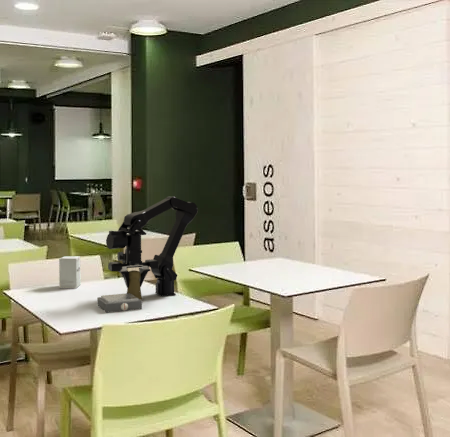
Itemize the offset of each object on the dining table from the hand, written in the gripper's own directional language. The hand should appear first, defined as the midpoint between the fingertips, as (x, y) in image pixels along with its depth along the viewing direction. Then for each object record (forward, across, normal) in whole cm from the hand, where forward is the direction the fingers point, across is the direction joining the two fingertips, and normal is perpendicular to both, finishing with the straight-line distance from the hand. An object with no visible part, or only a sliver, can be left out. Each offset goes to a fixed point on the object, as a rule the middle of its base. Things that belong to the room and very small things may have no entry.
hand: (133, 287), depth 237 cm
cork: (+5, 0, 0) cm, 5 cm away
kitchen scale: (+4, +9, +11) cm, 15 cm away
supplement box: (+5, +17, -34) cm, 38 cm away
